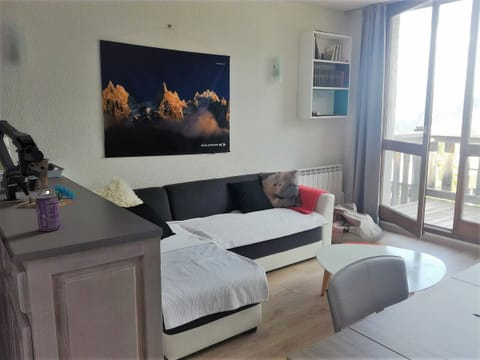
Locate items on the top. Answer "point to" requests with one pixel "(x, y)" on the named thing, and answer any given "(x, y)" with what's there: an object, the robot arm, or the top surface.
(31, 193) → the ball knob lever
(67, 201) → the peg rack
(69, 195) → the gear
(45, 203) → the beverage can
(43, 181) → the plant pot
